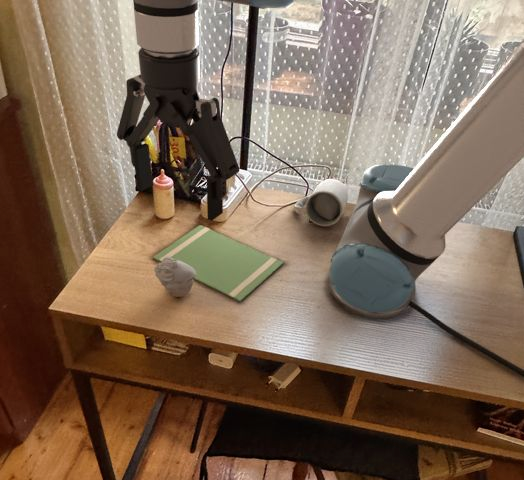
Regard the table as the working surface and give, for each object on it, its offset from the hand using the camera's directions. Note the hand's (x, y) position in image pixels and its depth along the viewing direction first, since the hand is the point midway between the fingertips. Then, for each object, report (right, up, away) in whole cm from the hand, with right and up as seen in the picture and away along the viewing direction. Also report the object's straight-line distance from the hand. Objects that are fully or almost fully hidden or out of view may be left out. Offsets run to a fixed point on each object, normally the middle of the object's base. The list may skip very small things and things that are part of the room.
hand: (179, 201), depth 82 cm
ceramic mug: (+25, +6, +33) cm, 42 cm away
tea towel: (+4, -6, +20) cm, 21 cm away
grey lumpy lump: (-2, -13, +12) cm, 18 cm away
